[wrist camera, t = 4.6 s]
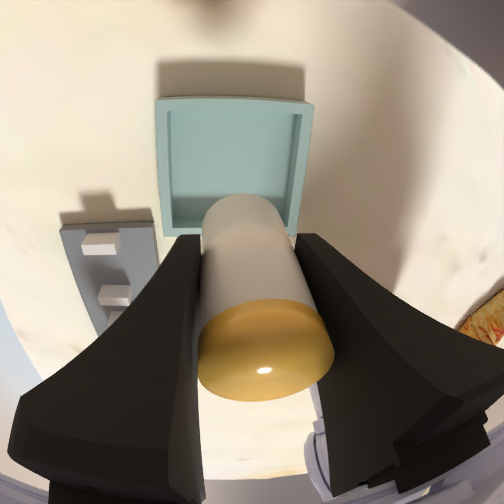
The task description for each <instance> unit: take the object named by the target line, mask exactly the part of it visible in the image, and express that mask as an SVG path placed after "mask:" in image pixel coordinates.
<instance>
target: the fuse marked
mask: <svg viewBox="0 0 504 504" xmlns="http://www.w3.org/2000/svg"><path fill="white" fill-rule="evenodd" d="M197 353H198V378H199V380H200V382H201V384H202V385H203V386H204V387H205V388H206V389H207V390H208V391H210V392H211V393H213V394H215V395H217V396H220V397H223V398H226V399H230V400H236V401H248V402H255V401H267V400H273V399H278V398H282V397H286V396H289V395H292V394H295V393H297V392H300V391H302V390H304V389H306V388H308V387H309V386H311V385H313V384H314V383H316V382H317V381H318V380H320V379H321V378H322V377H323V376H324V375H325V374H326V373H327V372H328V370H329V369H330V368H331V366H332V364H333V361H334V355H335V353H334V348H333V346H332V343H331V340H330V337H329V335H328V332H327V329H326V327H325V324H324V321H323V319H322V317H321V316H320V315H319V314H318V311H317V309H316V306H315V303H314V301H313V298H312V295H311V293H310V290H309V287H308V285H307V282H306V280H305V277H304V274H303V272H302V269H301V267H300V264H299V262H298V259H297V257H296V254H295V252H294V249H293V247H292V244H291V242H290V239H289V237H288V234H287V232H286V229H285V227H284V224H283V222H282V219H281V217H280V215H279V213H278V211H277V209H276V208H275V207H274V205H273V204H272V203H270V202H269V201H268V200H266V199H265V198H263V197H260V196H258V195H254V194H248V193H240V194H234V195H230V196H227V197H225V198H223V199H221V200H219V201H218V202H216V203H215V204H214V205H213V206H212V207H211V208H210V209H209V210H208V211H207V213H206V215H205V217H204V219H203V222H202V229H201V277H200V335H199V338H198V344H197Z"/></svg>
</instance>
